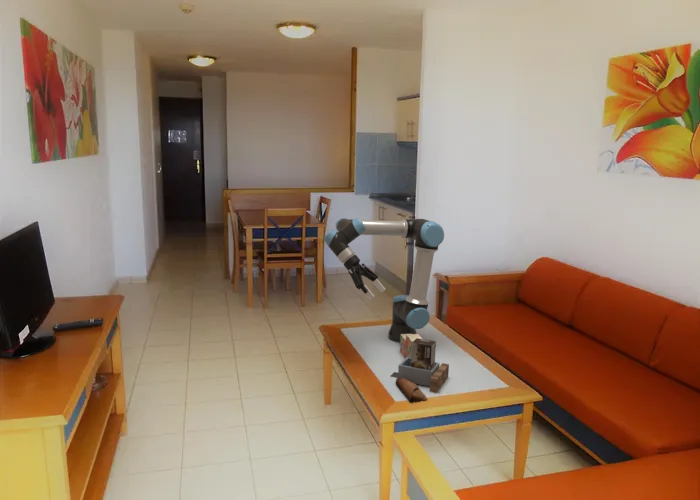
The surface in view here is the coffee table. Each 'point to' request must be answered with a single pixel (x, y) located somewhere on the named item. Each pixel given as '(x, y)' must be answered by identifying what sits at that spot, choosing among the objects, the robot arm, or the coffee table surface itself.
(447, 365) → the walnut backstop
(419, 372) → the box
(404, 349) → the stack of blocks
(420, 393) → the sunglasses case
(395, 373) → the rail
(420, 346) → the coffee box
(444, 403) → the coffee table surface
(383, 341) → the coffee table surface
